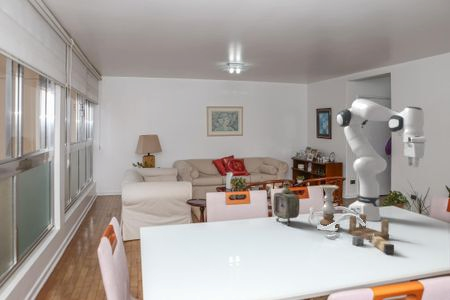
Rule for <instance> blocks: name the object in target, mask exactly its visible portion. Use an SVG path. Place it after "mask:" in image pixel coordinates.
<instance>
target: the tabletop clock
mask: <svg viewBox="0 0 450 300" xmlns="http://www.w3.org/2000/svg"><path fill="white" fill-rule="evenodd" d="M285 183H288V184H289V186H288V185H284V184H285ZM282 186H283V187H284V188H283V189H282V191H281V192H274V195H273V214H274V215H275V216H276V217H277V218H276V219H275V221H276V222H279V221H280V220H279V219H283V220H287V223H286V226H290V223H291V219H297V217H298V216H299V214H300V197H299V196H298V195H296V193H293V192H292V191H291V190H290V188H291V183H290V181H288V180H284V181H283V182H282Z"/></svg>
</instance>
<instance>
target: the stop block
mask: <svg viewBox="0 0 450 300" xmlns="http://www.w3.org/2000/svg"><path fill="white" fill-rule="evenodd" d="M351 245H352V246H356V247H358V246H363V245H365V241H364V237H362V236H352V244H351Z"/></svg>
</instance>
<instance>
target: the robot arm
mask: <svg viewBox="0 0 450 300" xmlns="http://www.w3.org/2000/svg"><path fill="white" fill-rule="evenodd" d="M424 115H425V113H424V110H423V108H422V107H419V106H418V107H417V106H406V107H404V109H403V110H402V111H400V112H399V111H396V110H394V109H390V108H388V107H386V106H384V105H381V104H379V103H377V102H374V101H372V100H369V99H365V98H357V99H355V100H354V101H352V104H351V107H350V108H345V109H343V110H340V111H339V112H338V113H337V115H336V117H335V119H336V123H337V124H338V125H339V126H340V127H341V128H343V133H344V136H345V138H346V141H347V143H348V145H349V147H350V148H351V149H350V150H351V151H352V153H353V154H354V155H356V156H357V157H358V158H357V159H355V160H354V161H353V164H352V166H353V170H354V172H355V173H356V174H357V176H358V180H359V194H358V195H356V196H355V198H356V201H354V202H352V203H350V204H349V205H348V207H347V210H348V209H351V210H353V211H354V212H355V213H356V214H357V215H358V216H359V215H360V214H365V215H366V222H367V221H369V222H377V221H382V217H381V214H380V200H381V199H380V184H379V182H378V181H377V177H376V174H380V173H382V172H384V171H385V170H386V169H387V165H388V163H387V160H386V159H385V158H383V157H382V156H380V155H379V153H378V152H377V151H376V150H375V149H374V148H373V147H372V144H370V142H369V140H368V138H367V137H366V135H365V133H364V131H363V129H362V126H365V125H366V124H367V122H368V121H372V122H375V121H376V122H387V127H388V129H389V131H390V132H392V133H397V134H399V133H403V143H404V147H403V148H404V149H403V155H404V157H406V158H407V165H408V166H409V167H410V166H411V167H412V166H413V168H419V163H420V159H423V157H424V155H425V148H426V147H425V143H426V142H427V139H426V137H425V134H424V133H425V132H424V126H425V125H424V124H425V116H424Z"/></svg>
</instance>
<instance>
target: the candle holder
mask: <svg viewBox="0 0 450 300" xmlns="http://www.w3.org/2000/svg"><path fill="white" fill-rule="evenodd" d="M319 188H320V189H323V191H324V192H325V195H324V197H323V198H324V200H325V202H324V204H323V205H322V207H321V211H322V213H323V214H322V217H323V218H322V219H321V220H319V222H320V224H321V225H323V226H327V225H329V224H331V223H333V222H335V221H336V220H335V219H334V218H335V215H334V214H335V213H336V207H335V205H334V204H333V199H335V197H334V195H333V193H334V191H335V190H338V189H339V188H340V187H339V186H338V185H335V184H319ZM339 227H341V226H340V223H338V224H336V225H335V228H339ZM339 229H340V228H339Z"/></svg>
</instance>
